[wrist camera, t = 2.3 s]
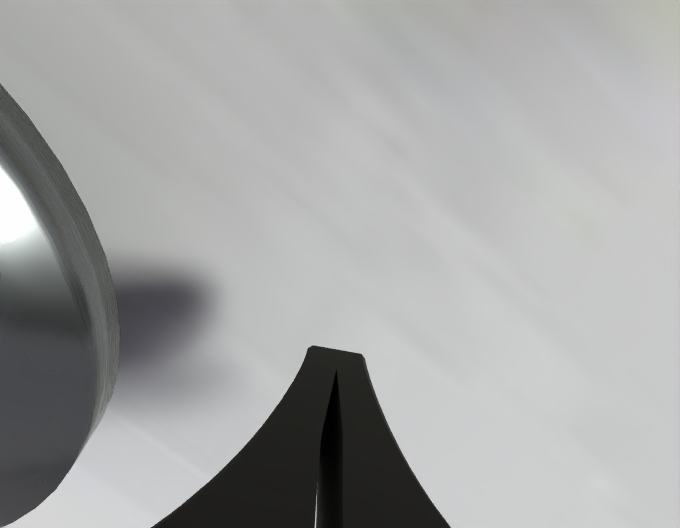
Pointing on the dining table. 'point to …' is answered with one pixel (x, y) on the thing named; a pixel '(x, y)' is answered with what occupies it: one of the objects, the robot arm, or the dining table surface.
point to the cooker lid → (47, 319)
